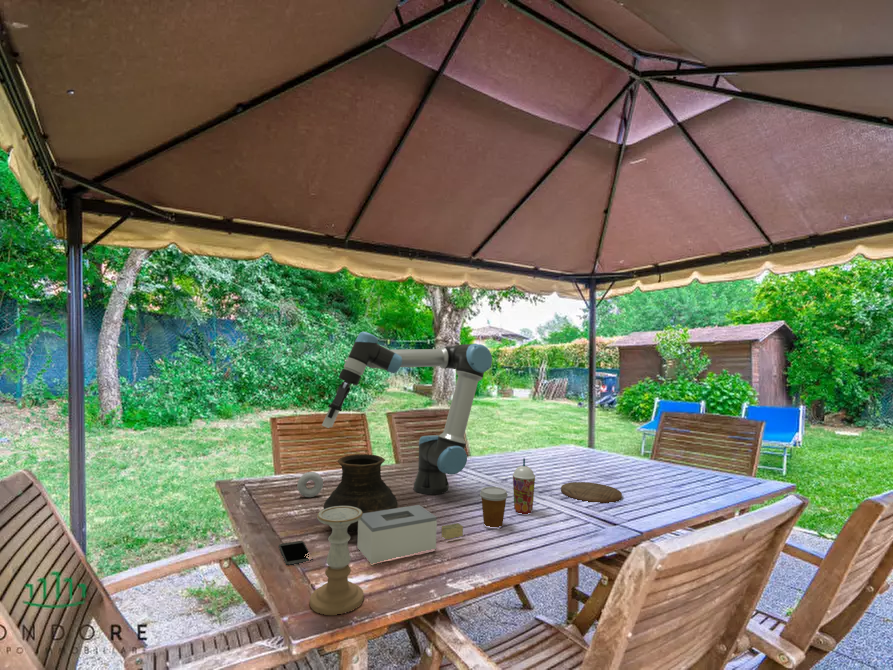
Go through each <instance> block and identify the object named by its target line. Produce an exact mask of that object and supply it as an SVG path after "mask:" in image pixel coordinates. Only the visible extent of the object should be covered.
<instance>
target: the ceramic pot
mask: <svg viewBox="0 0 893 670" xmlns="http://www.w3.org/2000/svg"><path fill="white" fill-rule="evenodd" d="M385 461H386V458H384V457H382V456H380V455H376V454H370V453H369V454H368V453H367V454H366V453H362V454H356V453H355V454H351V455H350V454H349V455H345V456H342V457H341V458H339V459H338V461H337V463H338V464H339V465H340V466H341V471H342V472H341V479H340V480H341V481H340V482H339V484H337V487H336V488H335V489H334V490H333V491H332V492H331V493H330V495H329V496H328V498H327V499H326V500H325V502H324V503H323V509H326V508H329V507H334V506H352V507H356V508H359V509H361V510H362V512H363V513H369V512H376V511H382V510H389V509H395V508H399V504H398V500H397V497H396V495H394V494H393V491H392V489H391V488H390V487H389V486H388V485H387V484H386V483H385V481H384V480H383V479H382V473H381V470H382V469H381V468H382V467H381V466H382V464H384V463H385ZM347 531H349V532H354V533H358V521H357V522H354V523H351V524H350V525H349V526H348V528H347Z"/></svg>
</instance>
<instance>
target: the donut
mask: <svg viewBox="0 0 893 670" xmlns="http://www.w3.org/2000/svg"><path fill="white" fill-rule="evenodd" d="M310 481H312V482H314V485H313V486H312V487H311V488H308V487H307V483H308V482H310ZM296 486H297V487H296V488H297V491H298V492H299V493H298V494H300V495H301V496H302V497H305V498H313V497H316V496H317V495H319V494H320V493H321V491H322V489H323V487H324V480H323V477H322V476H321V474H319V473H318V472H315V471H308V472H305V473H303V474H302V475H301V476H300V477H299V479H298V480H297V484H296Z"/></svg>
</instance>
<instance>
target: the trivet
mask: <svg viewBox="0 0 893 670" xmlns="http://www.w3.org/2000/svg"><path fill="white" fill-rule="evenodd" d="M560 492H561V494H563V496H565V497H567V496H568V497H567V498H569V497H570V499H572V498H573V499H572V500H575V499H577V500H576V501H579V500H582V501H581V502H584V501H588V502H587V503H590V502H600V503H599V504H610V503H609V502H614V503H617V502H616V501H618V502H620V501H621V500H622V497H623V493H622V491H620V490H619V489H617V488H615V487H613V486H609V485H605V484H601V483H597V482H596V483H595V482H588V481H587V482H586V481H574V482H567V483H563V484H562V485H561V486H560ZM619 500H620V501H619Z"/></svg>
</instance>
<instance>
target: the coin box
mask: <svg viewBox="0 0 893 670" xmlns="http://www.w3.org/2000/svg"><path fill="white" fill-rule="evenodd" d="M437 518H438V517H437V515H435V514H433V513H431V512H430V511H429V510H427V509H426V508H425V507H423V506H422V505H420V504H415V505H410V506H404V507H397V508H395V509H389V510H382V511H376V512H369V513H363V516H362V518H361V519H360V520H359V521H358V532H357V544H356V545H357V546H356V548H357V547H358V549H359V550H360V551H361V552H362V553H363V555H364V556H365V557H366V558H367V559H368V561H369V562H370V563H371V564H373V563H377V562H380V561H384V560H388V559H392V558H396V557H401V556H405V555H410V554H414V553H418V552H421V551H426V550H431V549H436V550H437V529H438V528H437V521H438V520H437ZM358 549H357V550H358ZM359 550H358V551H359ZM360 551H359V552H360ZM363 555H362V556H363ZM364 556H363V557H364ZM365 557H364V558H365ZM368 561H367V562H368ZM369 562H368V563H369Z"/></svg>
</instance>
